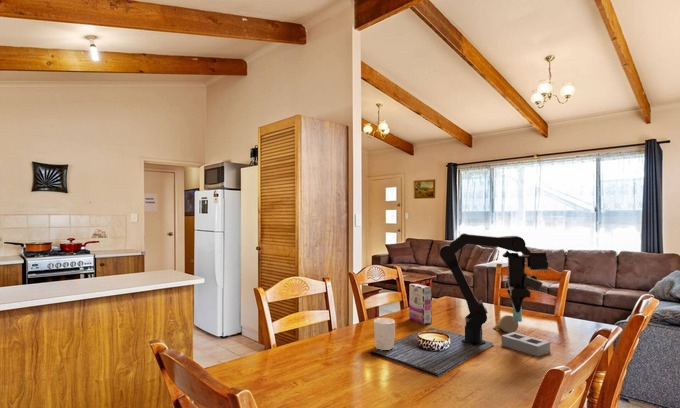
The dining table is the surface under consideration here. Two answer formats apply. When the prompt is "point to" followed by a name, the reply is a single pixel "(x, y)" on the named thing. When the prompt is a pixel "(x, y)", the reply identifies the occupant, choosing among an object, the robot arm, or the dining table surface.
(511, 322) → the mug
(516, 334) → the block
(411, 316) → the candy bar box
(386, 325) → the white cup
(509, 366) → the dining table surface
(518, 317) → the peg
